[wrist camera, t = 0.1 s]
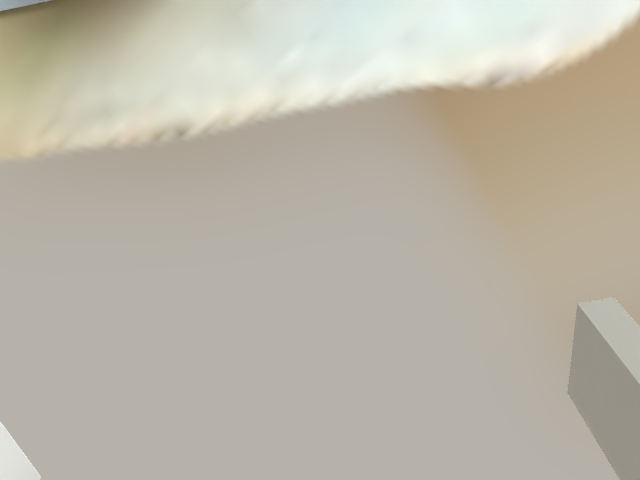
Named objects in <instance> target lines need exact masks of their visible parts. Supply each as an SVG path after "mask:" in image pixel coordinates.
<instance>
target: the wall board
mask: <svg viewBox="0 0 640 480" xmlns="http://www.w3.org/2000/svg"><path fill="white" fill-rule="evenodd" d="M47 1H52V0H0V11H3V10H8V9H13V8H18V7H22V6H27V5H32V4H37V3H42V2H47Z"/></svg>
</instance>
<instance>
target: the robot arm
mask: <svg viewBox="0 0 640 480" xmlns="http://www.w3.org/2000/svg"><path fill="white" fill-rule="evenodd" d="M568 394H569V395H570V397H571V399H572V401H573V402H574V404H575V406H576V407H577V409H578V410H579V412H580V414H581V415H582V417H583V419H584V421H585V422H586V424H587V426H588V427H589V429H590V431H591V432H592V434H593V436H594V437H595V439H596V441H597V442H598V444H599V446H600V447H601V449H602V451H603V452H604V454H605V456H606V457H607V459H608V461H609V462H610V464H611V466H612V467H613V469H614V470H615V472H616V474H617V475H618V477H619V479H620V480H640V327H639V326H638V325H637V323H636V322H635V321H634V320H633V319H632V318H631V316H630V315H629V314H628V313H627V312H626V311H625V310H624V309H623V307H622V306H621V305H620V304H619V303H618V302H617V301H616V299H615V298H614V297H613V298H607V299H601V300H595V301H589V302H583V303H578V304H577V313H576V322H575V330H574V340H573V349H572V358H571V367H570V376H569V385H568ZM40 479H41V476H40V475H39V473H38V472H37V471H36V469H35V468H34V466H33V465H32V464H31V462H30V461H29V460H28V458H27V457H26V456H25V454H24V453H23V451H22V450H21V449H20V447H19V446H18V445H17V443H16V442H15V441H14V439H13V438H12V437H11V435H10V434H9V432H8V431H7V430H6V428H5V427H4V425H3V424H2V423H1V421H0V480H40Z"/></svg>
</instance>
